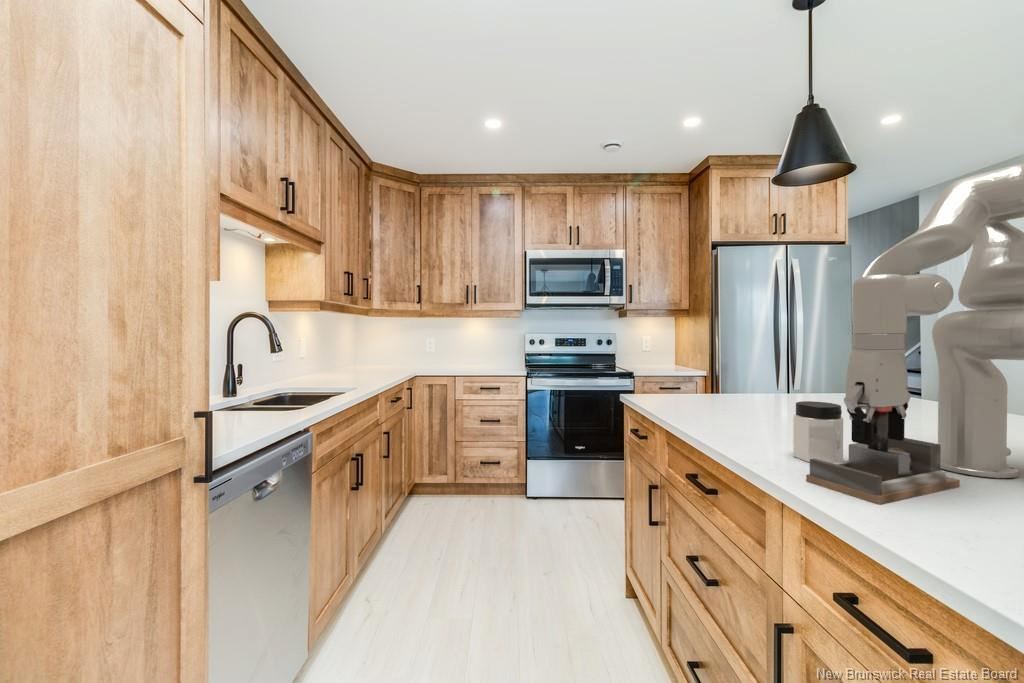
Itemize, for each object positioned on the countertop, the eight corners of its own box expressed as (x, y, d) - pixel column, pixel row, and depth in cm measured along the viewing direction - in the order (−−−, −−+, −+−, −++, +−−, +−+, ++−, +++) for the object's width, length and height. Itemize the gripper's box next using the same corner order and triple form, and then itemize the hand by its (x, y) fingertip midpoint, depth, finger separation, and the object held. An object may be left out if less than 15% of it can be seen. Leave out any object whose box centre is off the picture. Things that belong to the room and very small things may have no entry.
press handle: (860, 468, 84) (860, 399, 84) (910, 481, 76) (911, 406, 76) (847, 471, 82) (847, 400, 82) (896, 484, 75) (897, 407, 75)
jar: (830, 467, 90) (830, 408, 89) (787, 458, 96) (787, 403, 96) (848, 460, 95) (849, 404, 94) (806, 451, 101) (806, 399, 101)
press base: (882, 467, 89) (882, 432, 89) (959, 486, 78) (960, 446, 78) (806, 481, 82) (806, 442, 81) (879, 504, 70) (879, 459, 70)
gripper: (885, 342, 85) (885, 432, 86) (824, 344, 79) (823, 441, 80) (933, 343, 78) (932, 441, 79) (870, 345, 72) (869, 451, 73)
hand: (877, 440), depth 79 cm, fingers open, 8 cm apart
